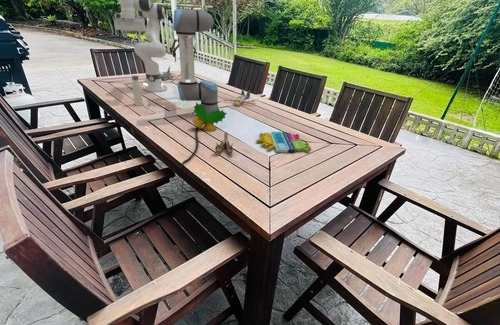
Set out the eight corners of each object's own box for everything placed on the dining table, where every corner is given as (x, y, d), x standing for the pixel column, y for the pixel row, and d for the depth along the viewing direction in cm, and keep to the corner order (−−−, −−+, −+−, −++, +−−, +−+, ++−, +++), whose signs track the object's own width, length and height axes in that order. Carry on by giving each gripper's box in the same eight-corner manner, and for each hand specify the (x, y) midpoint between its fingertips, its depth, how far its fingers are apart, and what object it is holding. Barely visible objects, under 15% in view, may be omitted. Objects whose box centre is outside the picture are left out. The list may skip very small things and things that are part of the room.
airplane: (145, 76, 282) (144, 66, 276) (174, 74, 295) (174, 65, 290) (151, 85, 253) (150, 74, 248) (183, 83, 266) (183, 72, 261)
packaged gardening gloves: (313, 150, 142) (258, 149, 139) (312, 153, 143) (258, 152, 140) (301, 132, 164) (254, 130, 161) (301, 134, 165) (254, 133, 162)
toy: (261, 91, 228) (254, 99, 202) (261, 99, 231) (253, 108, 205) (231, 87, 233) (220, 95, 207) (230, 95, 236) (219, 104, 210)
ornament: (218, 133, 171) (224, 110, 169) (221, 134, 163) (227, 111, 161) (186, 125, 162) (192, 101, 160) (189, 126, 155) (195, 101, 153)
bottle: (134, 105, 195) (129, 77, 185) (136, 103, 199) (131, 75, 189) (141, 105, 195) (137, 77, 185) (143, 103, 200) (139, 76, 190)
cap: (131, 79, 186) (130, 76, 185) (132, 78, 190) (132, 75, 189) (137, 79, 186) (137, 76, 185) (139, 78, 190) (138, 75, 189)
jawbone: (234, 135, 144) (233, 125, 135) (233, 160, 138) (232, 151, 129) (217, 135, 144) (216, 125, 135) (216, 160, 138) (214, 150, 129)
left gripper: (145, 16, 182) (148, 38, 189) (115, 14, 181) (119, 36, 188) (142, 16, 177) (145, 39, 184) (111, 14, 175) (115, 37, 182)
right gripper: (198, 33, 207) (199, 61, 218) (165, 31, 201) (168, 60, 211) (199, 33, 201) (200, 62, 211) (165, 32, 194) (168, 62, 205)
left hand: (131, 37), depth 186 cm, fingers open, 8 cm apart
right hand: (184, 61), depth 211 cm, fingers open, 13 cm apart
